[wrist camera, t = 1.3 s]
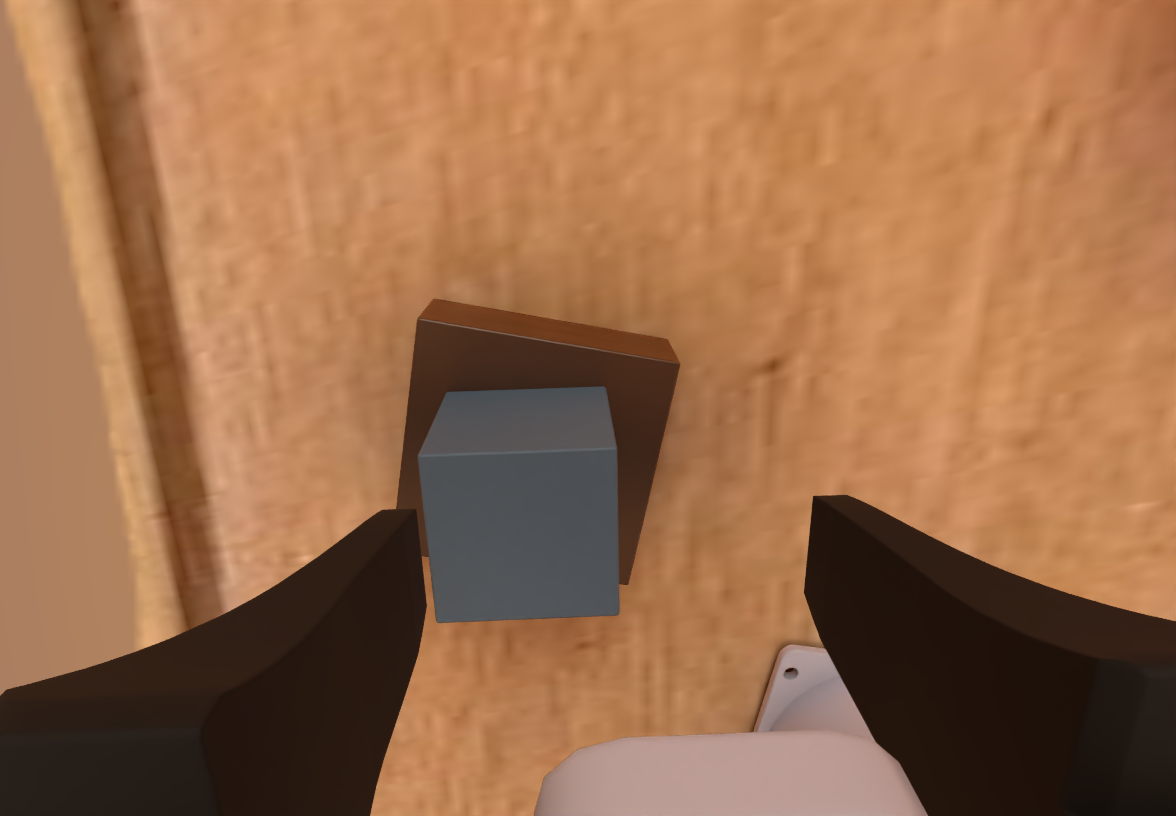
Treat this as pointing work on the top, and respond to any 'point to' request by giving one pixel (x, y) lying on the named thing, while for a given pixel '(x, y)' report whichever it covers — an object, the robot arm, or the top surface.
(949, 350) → the top surface
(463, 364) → the walnut tile
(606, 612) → the grey cube
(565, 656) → the top surface
